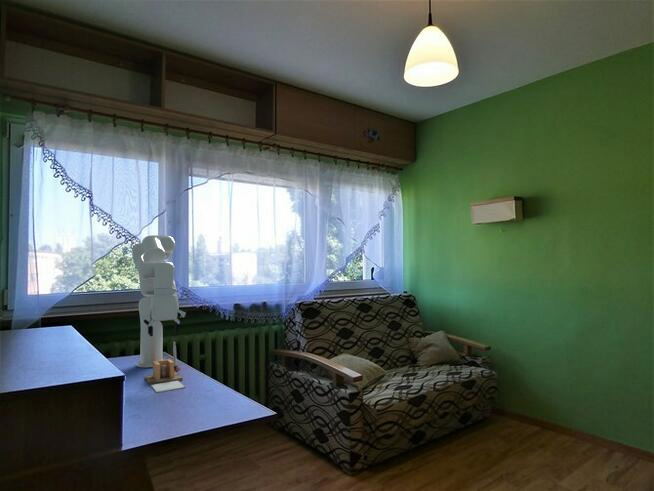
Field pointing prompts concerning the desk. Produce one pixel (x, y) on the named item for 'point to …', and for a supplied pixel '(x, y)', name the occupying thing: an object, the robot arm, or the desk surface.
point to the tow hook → (175, 358)
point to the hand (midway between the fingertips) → (163, 334)
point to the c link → (157, 368)
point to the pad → (167, 386)
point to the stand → (163, 377)
